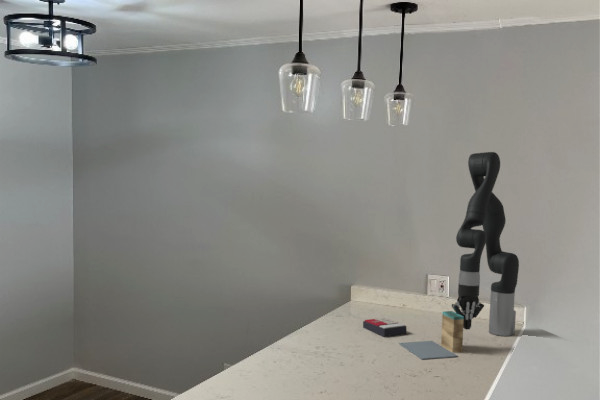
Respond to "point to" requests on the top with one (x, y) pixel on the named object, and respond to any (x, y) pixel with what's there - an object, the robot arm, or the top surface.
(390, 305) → the top surface
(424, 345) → the mat
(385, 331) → the calculator
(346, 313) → the top surface
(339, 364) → the top surface
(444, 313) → the block
